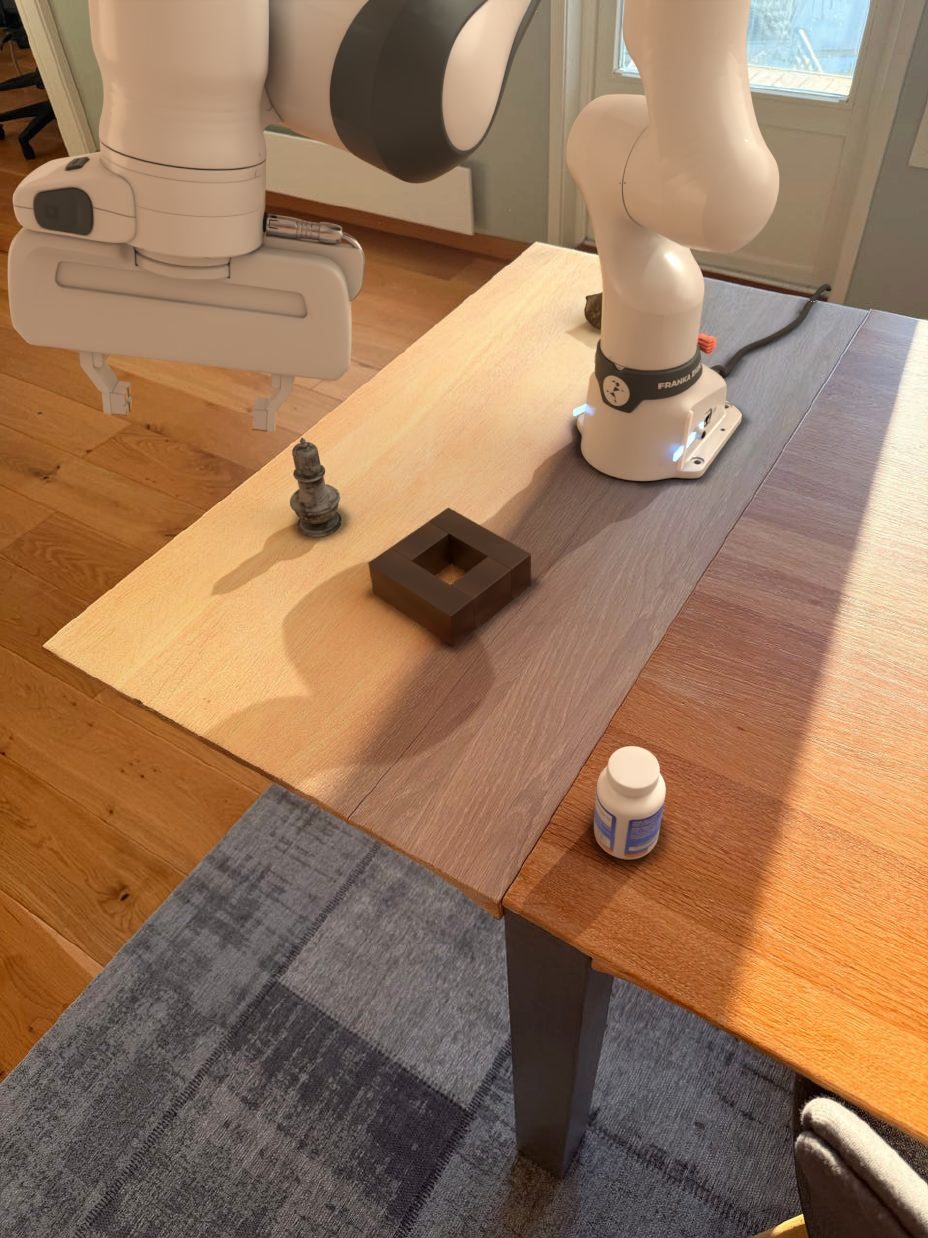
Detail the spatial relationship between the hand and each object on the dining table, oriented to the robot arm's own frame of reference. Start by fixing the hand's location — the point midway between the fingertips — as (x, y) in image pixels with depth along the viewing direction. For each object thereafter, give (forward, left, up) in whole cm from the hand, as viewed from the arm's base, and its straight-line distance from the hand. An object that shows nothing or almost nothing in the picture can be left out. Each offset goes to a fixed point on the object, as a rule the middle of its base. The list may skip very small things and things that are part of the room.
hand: (192, 420), depth 60 cm
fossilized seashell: (-84, -25, -35) cm, 94 cm away
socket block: (-25, -3, -35) cm, 43 cm away
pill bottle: (-13, +29, -35) cm, 48 cm away
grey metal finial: (-23, -23, -35) cm, 48 cm away
